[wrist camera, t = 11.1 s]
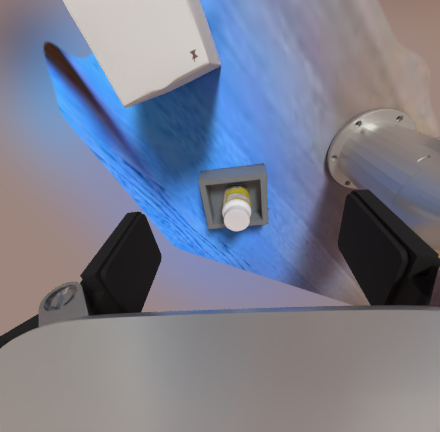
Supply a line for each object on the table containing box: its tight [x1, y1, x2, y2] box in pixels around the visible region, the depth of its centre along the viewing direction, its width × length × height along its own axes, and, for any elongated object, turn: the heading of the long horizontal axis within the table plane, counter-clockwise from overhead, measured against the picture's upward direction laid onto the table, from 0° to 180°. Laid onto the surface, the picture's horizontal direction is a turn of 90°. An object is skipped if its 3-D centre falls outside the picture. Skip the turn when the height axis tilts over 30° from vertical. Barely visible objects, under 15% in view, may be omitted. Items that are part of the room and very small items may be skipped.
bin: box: [198, 164, 268, 229], centre depth 40 cm, size 11×10×4 cm
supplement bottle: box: [222, 184, 251, 231], centre depth 37 cm, size 5×5×8 cm
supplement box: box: [63, 0, 221, 108], centre depth 23 cm, size 9×9×15 cm
